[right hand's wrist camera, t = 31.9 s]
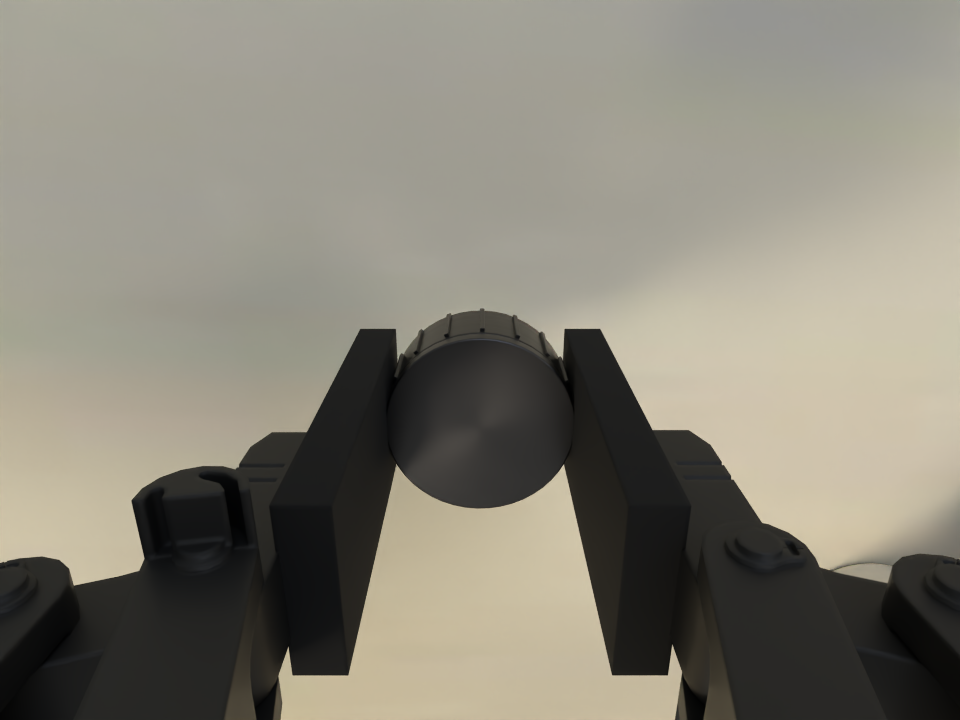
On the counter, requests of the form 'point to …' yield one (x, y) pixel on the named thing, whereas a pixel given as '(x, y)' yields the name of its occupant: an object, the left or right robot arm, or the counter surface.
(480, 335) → the cap
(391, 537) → the counter surface
